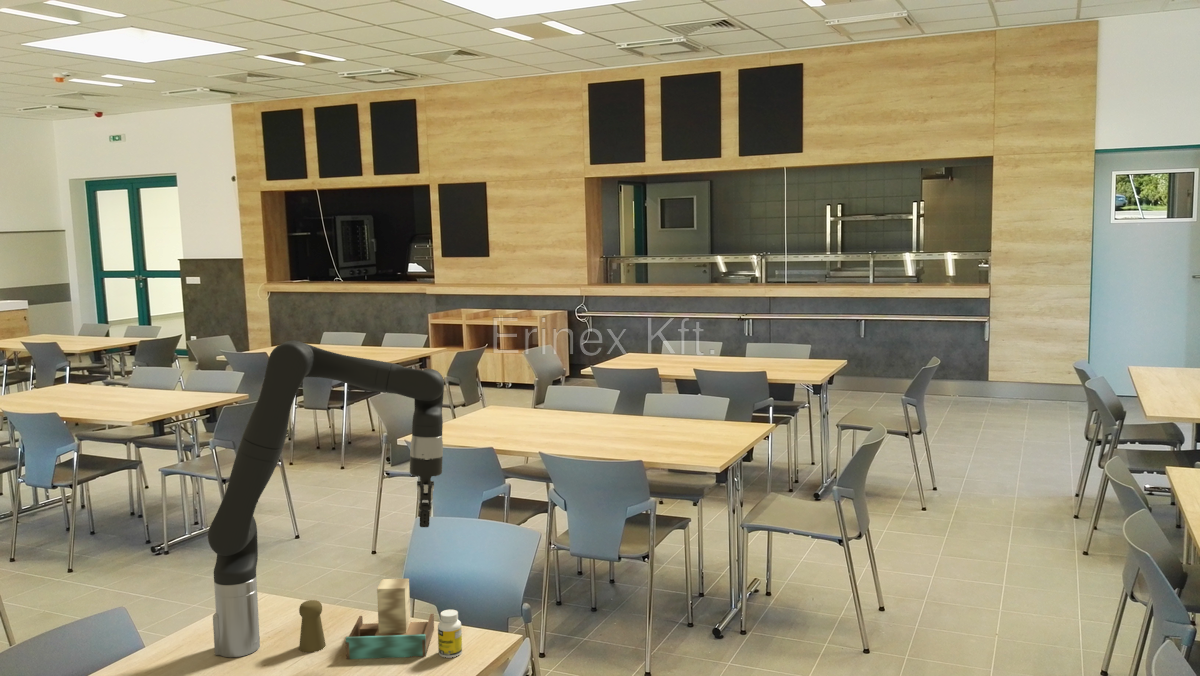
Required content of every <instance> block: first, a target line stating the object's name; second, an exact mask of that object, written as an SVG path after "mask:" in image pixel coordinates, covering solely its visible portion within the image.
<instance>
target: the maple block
mask: <svg viewBox="0 0 1200 676" xmlns="http://www.w3.org/2000/svg"><path fill="white" fill-rule="evenodd" d="M376 595H377V619H378V620H377V621H378V622H377V623H378V625H379V634H384V633H406V632H407V630H408V627H409V624H410V622H411V598H410V578H386V579H385V578H384V579H383V578H382V579H381V580H380V582H379V584H378V586H377V589H376Z"/></svg>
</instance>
